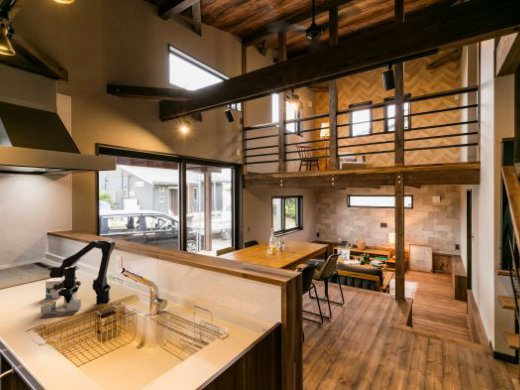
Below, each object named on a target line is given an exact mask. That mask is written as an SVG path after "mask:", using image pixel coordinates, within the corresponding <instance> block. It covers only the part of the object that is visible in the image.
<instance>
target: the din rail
mask: <svg viewBox="0 0 520 390" xmlns="http://www.w3.org/2000/svg"><path fill="white" fill-rule="evenodd" d="M81 300H82V299H80V298H79V299H77V300H71V301H70V302H69V303H68V304H67V306H60V307H59V306H58V307H57V303H56V301H48V302H45V303H43V304H42V305H41V306H40V315H41V316H40V319H41V320H43V319H50V318H59V317H66V316H67V317H68V316H69V317H70V316H74V315H75V313H77V312H78V310H79V309H80V308H82V307H81V306H82V301H81Z"/></svg>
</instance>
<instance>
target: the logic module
mask: <svg viewBox="0 0 520 390" xmlns="http://www.w3.org/2000/svg"><path fill="white" fill-rule="evenodd" d="M77 293H78V291H77V292H73V295H72V298H71V300H78V299H77V298H78V297H77ZM66 306H67V302H66V300H65V297H64V296H63V307H66Z"/></svg>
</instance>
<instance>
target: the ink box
mask: <svg viewBox="0 0 520 390" xmlns="http://www.w3.org/2000/svg"><path fill="white" fill-rule="evenodd" d="M63 280H64V278H63V277H62V278H50V279H48V280H45V300H49V299H51V300H52V299H60V298H62V297H63V296H58V293H59V292H60V291H61V290H62V288H61V289H58V290H57V291H55V290H54V289H53V286H54V285H55V284H57V283H60V282H63Z"/></svg>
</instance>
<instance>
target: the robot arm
mask: <svg viewBox="0 0 520 390" xmlns="http://www.w3.org/2000/svg"><path fill="white" fill-rule="evenodd" d="M115 247H116V242H115V241H114V240H112V239H109V240H97V239H95V240H93V241H91V242H89V243H88V244H86V245H85V246H84V247H83V248H81V249H80V250H79V251H78V252H76V253H75V254H73V255H70V256H68V257H66V258H64V259H63V260H62V264H60V266H53V267H51V270H50V272H49V278H50V279H61V278H62V279H63V282H60V283H57V284H55V285H54V286H53V289H54V290H55V291H57V290H58V289H61V288H62V290H61V291H60V292H59V293H58V296H62V297H63V298H64V297H65V300H66V302H67V304H68V303H69V302H70V301H71V298H72V295H73V292H77V293H78V291H79V289H80V287H81V285H82V282H81V281H79V280H77V277H76V271H78V270H79V269H80V267H79V266H77V265H76V264H77V263H79V261H80V260H81V258H83V257H84V256H85V255H86V254H88V253H89V252H91V251H92V250H94V249H100V250H101V254H102V255H101V259H100V266H99V269H98V275H97V277H95V278H94V279H93V280H92V285H91V287H92V290H93V291H94V292H95V295H96V296H95V297H96V299H95V301H96V305H102V303H103V304H109V302H110V300H111V298H110V290H111V288H112V286H111V285H110V284H108V279H107V274H108V268H109V264H110V258H111V255H112V252H113V251H114V249H115ZM76 280H77V281H76Z"/></svg>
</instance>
